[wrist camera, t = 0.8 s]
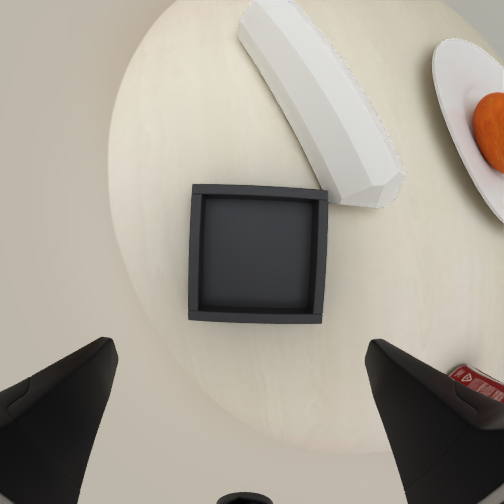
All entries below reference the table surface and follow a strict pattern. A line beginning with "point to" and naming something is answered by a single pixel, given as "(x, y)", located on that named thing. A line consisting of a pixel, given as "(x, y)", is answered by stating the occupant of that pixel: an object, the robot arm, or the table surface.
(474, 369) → the soda can
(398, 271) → the table surface
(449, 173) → the table surface
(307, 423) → the table surface
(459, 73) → the plate
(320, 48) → the crystal
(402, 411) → the robot arm
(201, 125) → the table surface
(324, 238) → the dark grey square tray
